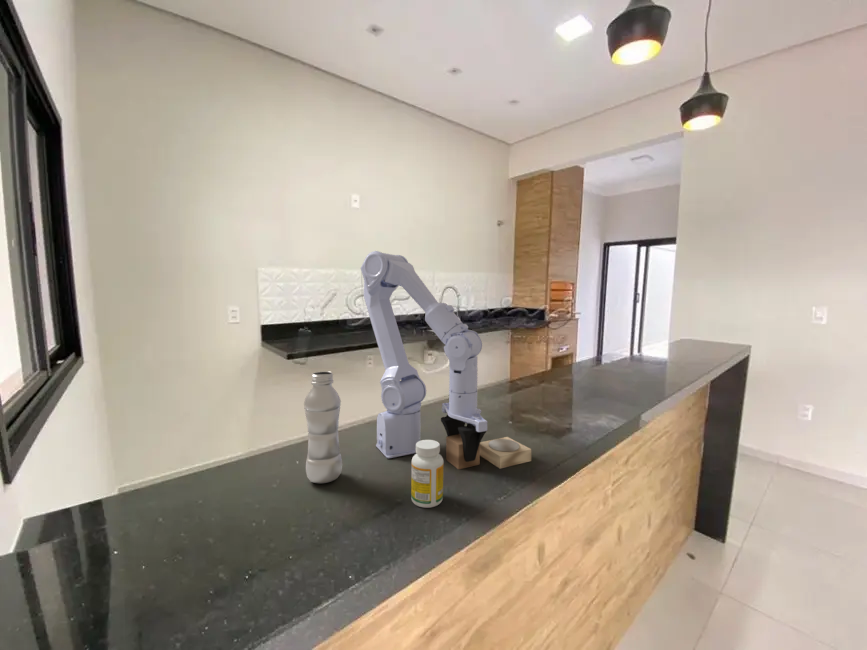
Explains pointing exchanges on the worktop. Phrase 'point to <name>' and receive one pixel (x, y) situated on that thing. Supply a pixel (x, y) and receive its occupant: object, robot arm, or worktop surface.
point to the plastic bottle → (323, 429)
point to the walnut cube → (458, 453)
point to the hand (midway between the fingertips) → (462, 455)
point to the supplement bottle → (427, 474)
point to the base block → (504, 452)
